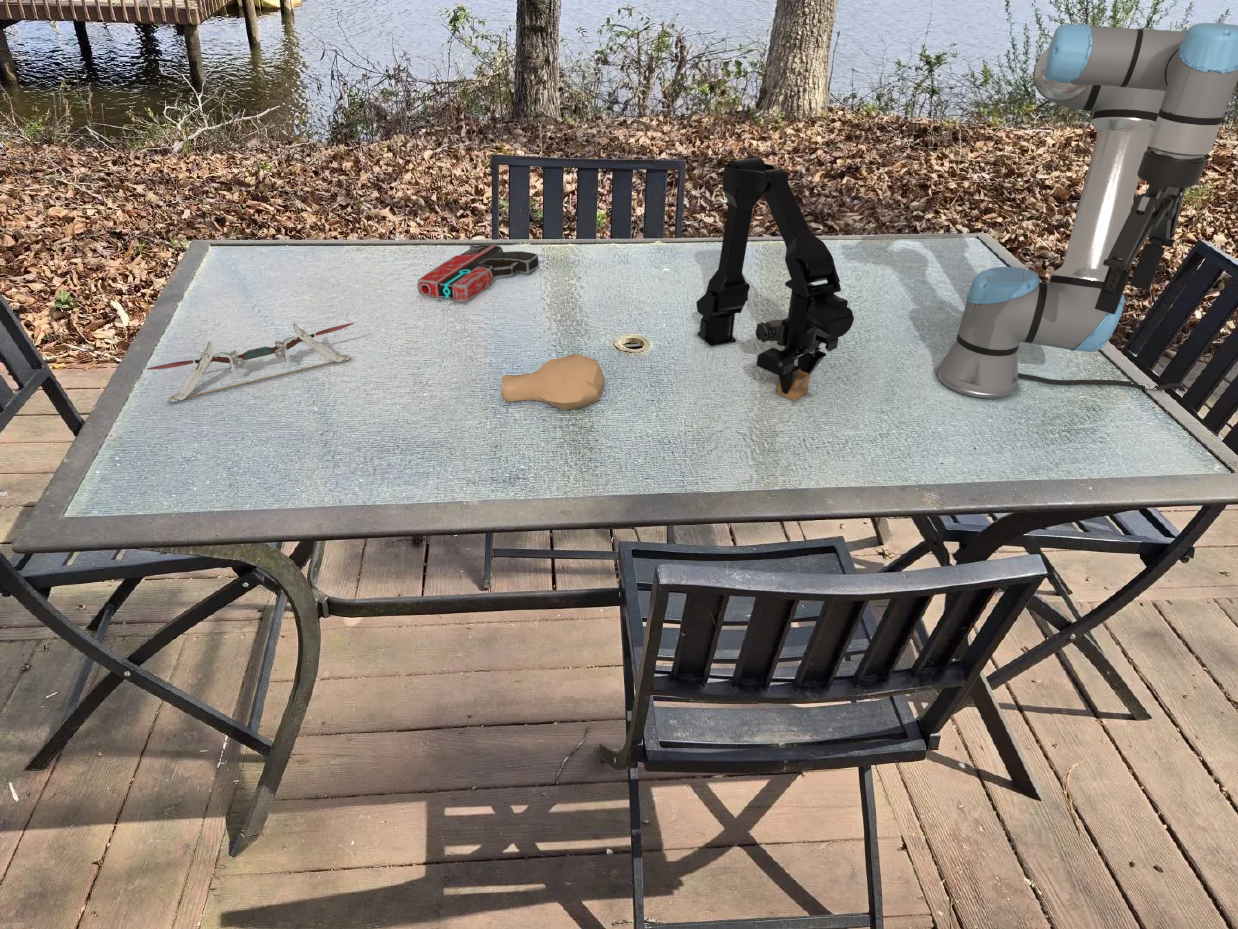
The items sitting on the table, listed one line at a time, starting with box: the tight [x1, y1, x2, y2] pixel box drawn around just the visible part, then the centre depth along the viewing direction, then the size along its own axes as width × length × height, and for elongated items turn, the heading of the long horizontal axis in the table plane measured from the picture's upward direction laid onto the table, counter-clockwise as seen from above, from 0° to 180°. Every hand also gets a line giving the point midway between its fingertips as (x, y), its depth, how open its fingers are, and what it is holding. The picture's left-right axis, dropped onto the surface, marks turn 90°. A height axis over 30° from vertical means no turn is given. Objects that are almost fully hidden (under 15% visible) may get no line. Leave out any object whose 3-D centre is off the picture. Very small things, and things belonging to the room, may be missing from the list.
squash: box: [500, 353, 606, 411], centre depth 166 cm, size 11×20×9 cm, turn 90°
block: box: [776, 370, 811, 402], centre depth 172 cm, size 4×4×4 cm
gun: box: [416, 243, 540, 303], centre depth 216 cm, size 4×31×19 cm
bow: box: [146, 322, 355, 403], centre depth 169 cm, size 39×2×10 cm, turn 124°
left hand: (792, 389), depth 173 cm, fingers open, 4 cm apart
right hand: (1122, 298), depth 130 cm, fingers open, 13 cm apart
